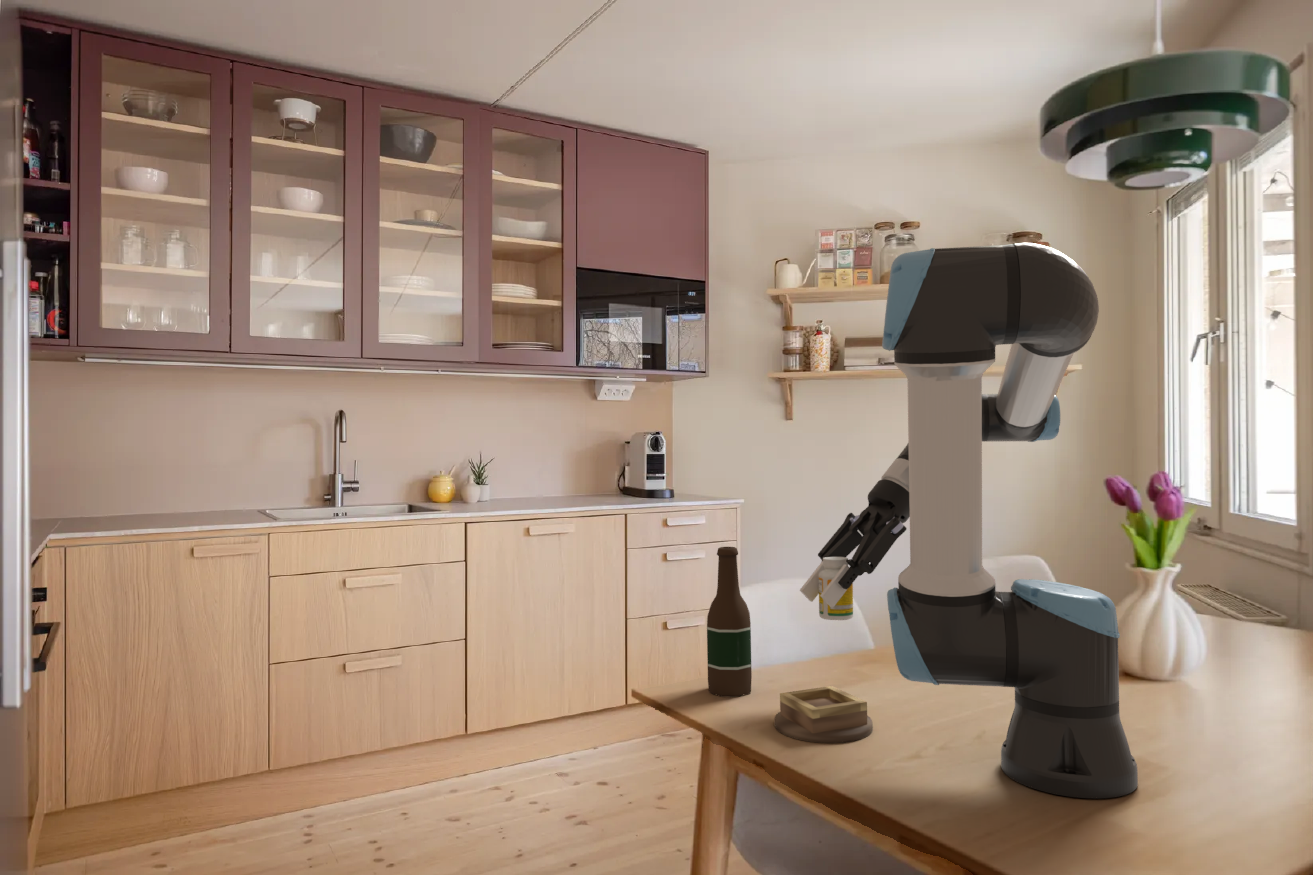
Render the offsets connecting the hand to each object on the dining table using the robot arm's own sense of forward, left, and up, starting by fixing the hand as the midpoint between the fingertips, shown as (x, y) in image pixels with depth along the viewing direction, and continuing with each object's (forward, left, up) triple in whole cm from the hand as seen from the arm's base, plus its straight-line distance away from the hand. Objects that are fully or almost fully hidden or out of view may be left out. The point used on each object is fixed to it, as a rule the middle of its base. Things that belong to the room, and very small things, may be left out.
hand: (816, 598), depth 138 cm
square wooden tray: (-10, +6, -16) cm, 20 cm away
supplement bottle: (0, -4, -4) cm, 5 cm away
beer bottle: (+12, +10, -17) cm, 22 cm away
